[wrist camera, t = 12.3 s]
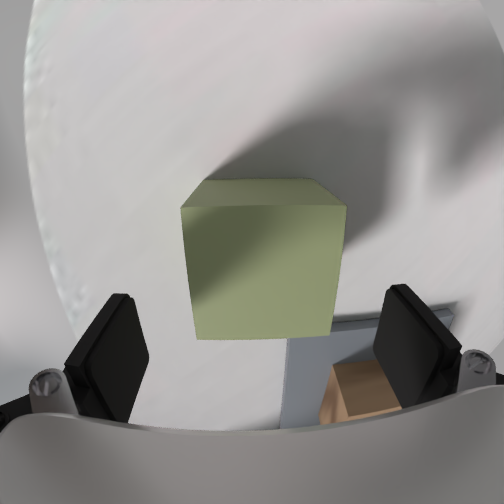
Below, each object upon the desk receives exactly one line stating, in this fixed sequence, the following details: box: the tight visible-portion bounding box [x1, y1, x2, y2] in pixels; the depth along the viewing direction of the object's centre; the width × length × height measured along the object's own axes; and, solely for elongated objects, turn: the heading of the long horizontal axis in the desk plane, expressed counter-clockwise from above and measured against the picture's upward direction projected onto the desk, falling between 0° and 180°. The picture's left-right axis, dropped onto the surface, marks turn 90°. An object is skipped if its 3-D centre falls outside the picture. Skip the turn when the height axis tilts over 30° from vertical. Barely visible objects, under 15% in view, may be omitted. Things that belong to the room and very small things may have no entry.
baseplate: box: [279, 309, 454, 429], centre depth 22 cm, size 14×14×1 cm
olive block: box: [181, 178, 347, 340], centre depth 14 cm, size 6×6×6 cm
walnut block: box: [318, 359, 402, 425], centre depth 19 cm, size 7×7×5 cm
